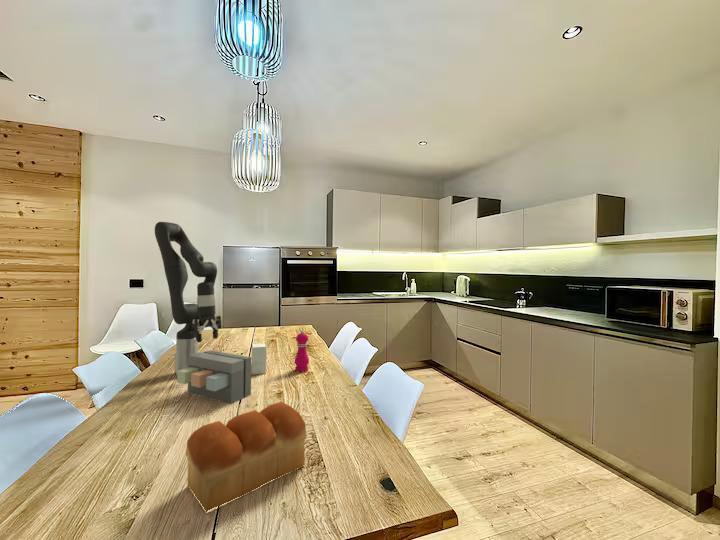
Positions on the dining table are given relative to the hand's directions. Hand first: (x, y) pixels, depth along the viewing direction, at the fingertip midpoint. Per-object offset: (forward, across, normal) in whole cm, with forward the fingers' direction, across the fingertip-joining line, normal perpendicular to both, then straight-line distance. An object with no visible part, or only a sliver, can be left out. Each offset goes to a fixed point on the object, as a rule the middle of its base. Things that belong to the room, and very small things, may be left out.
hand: (207, 340), depth 150 cm
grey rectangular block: (+13, +18, +28) cm, 36 cm away
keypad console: (+19, +11, +19) cm, 29 cm away
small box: (+18, -18, +13) cm, 29 cm away
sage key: (+12, +18, +12) cm, 25 cm away
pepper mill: (+20, -30, +30) cm, 47 cm away
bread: (+22, +45, +68) cm, 85 cm away
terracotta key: (+12, +18, +20) cm, 30 cm away
